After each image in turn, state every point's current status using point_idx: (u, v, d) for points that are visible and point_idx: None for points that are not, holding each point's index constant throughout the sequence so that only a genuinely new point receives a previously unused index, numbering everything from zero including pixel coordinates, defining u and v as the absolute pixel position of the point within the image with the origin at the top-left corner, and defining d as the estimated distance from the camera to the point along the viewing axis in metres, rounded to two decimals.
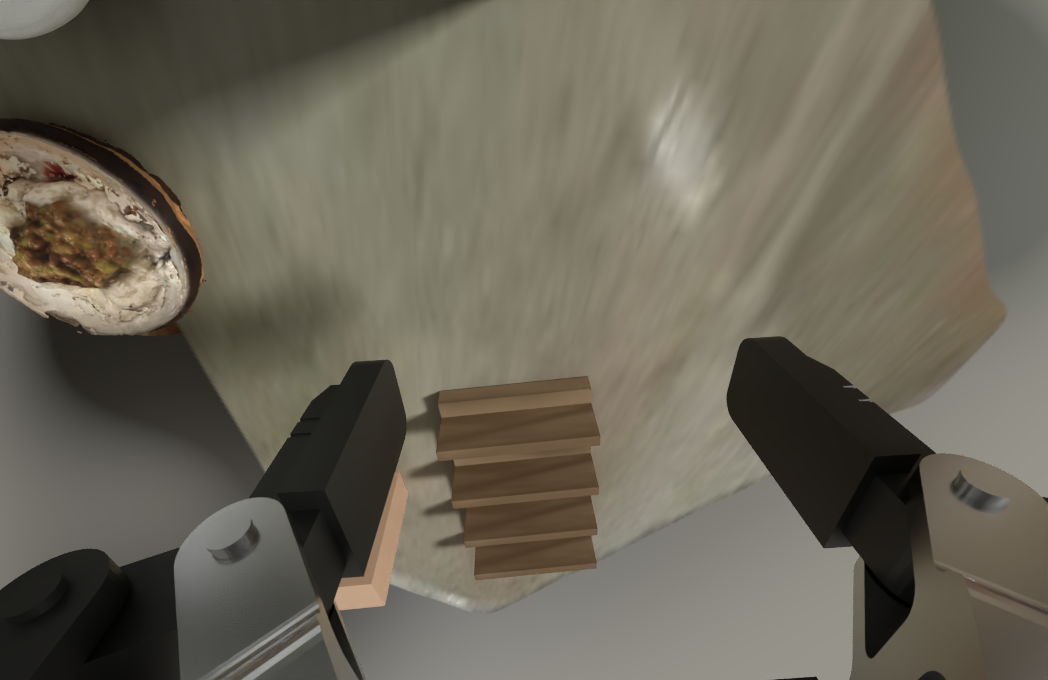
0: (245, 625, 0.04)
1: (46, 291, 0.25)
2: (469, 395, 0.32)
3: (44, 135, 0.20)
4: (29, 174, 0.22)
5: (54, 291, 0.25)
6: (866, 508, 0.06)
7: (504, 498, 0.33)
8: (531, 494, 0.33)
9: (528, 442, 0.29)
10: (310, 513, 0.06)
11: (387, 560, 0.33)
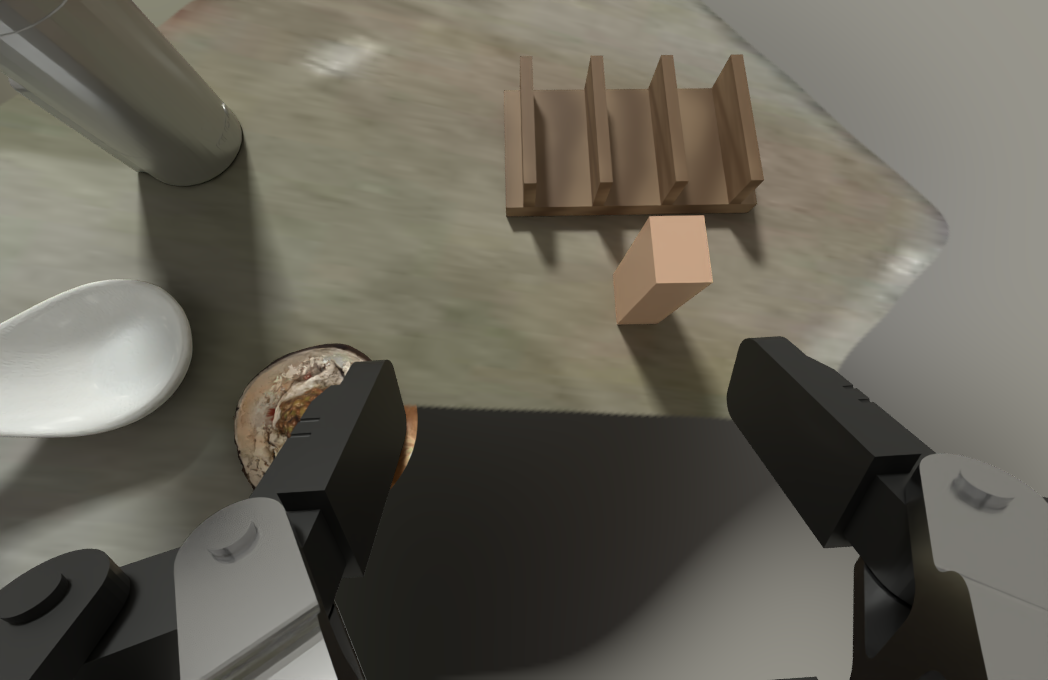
0: (246, 624, 0.04)
1: None
2: None
3: (246, 392, 0.31)
4: (270, 428, 0.31)
5: None
6: (867, 508, 0.06)
7: (600, 134, 0.33)
8: (596, 111, 0.33)
9: (522, 110, 0.33)
10: (310, 513, 0.06)
11: None
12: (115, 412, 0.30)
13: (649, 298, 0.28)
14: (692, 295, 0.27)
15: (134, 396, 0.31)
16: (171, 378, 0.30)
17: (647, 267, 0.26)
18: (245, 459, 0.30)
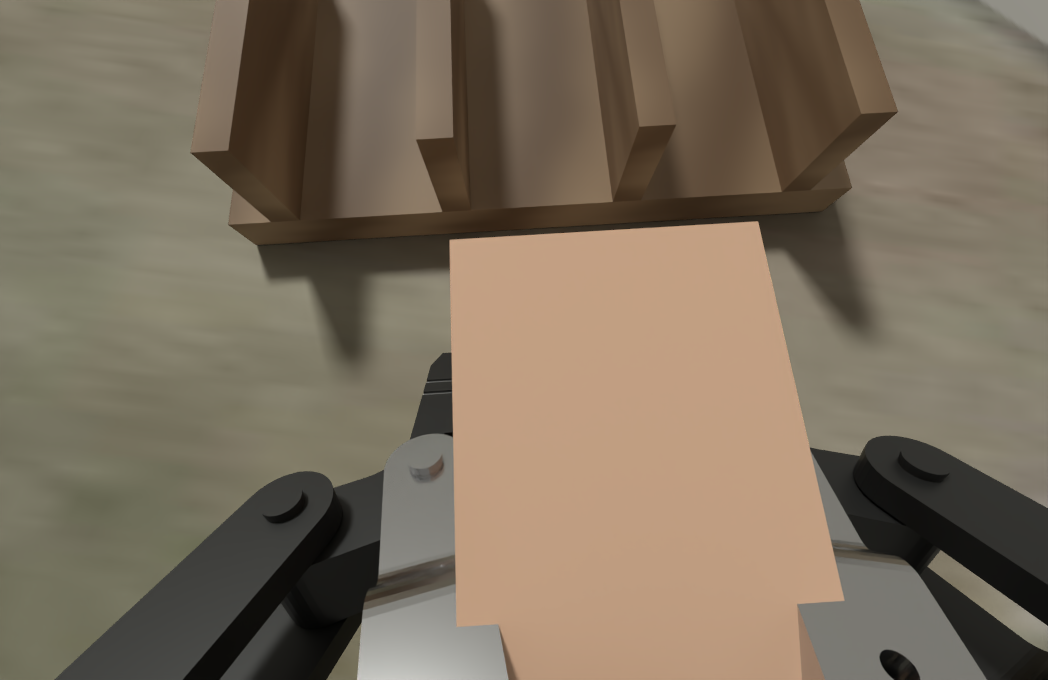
0: (427, 539, 0.05)
1: None
2: None
3: None
4: None
5: None
6: None
7: (425, 15, 0.12)
8: None
9: None
10: None
11: None
12: None
13: None
14: None
15: None
16: None
17: None
18: None
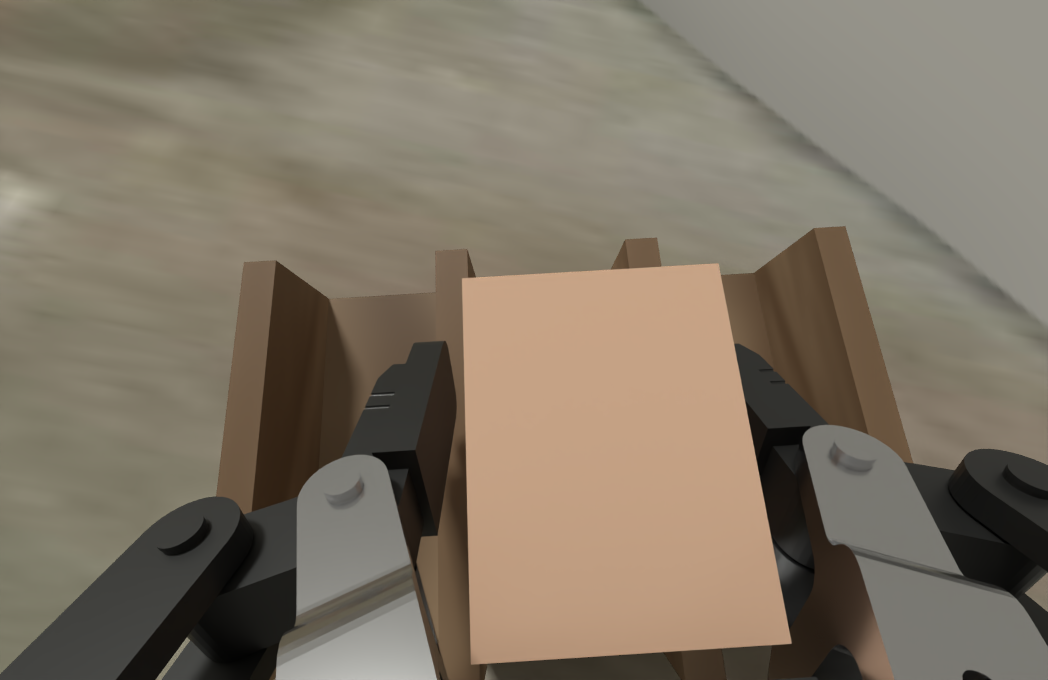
0: (349, 567, 0.05)
1: None
2: None
3: None
4: None
5: None
6: (767, 477, 0.07)
7: (447, 512, 0.11)
8: None
9: (227, 433, 0.11)
10: (400, 472, 0.06)
11: None
12: None
13: None
14: None
15: None
16: None
17: None
18: None
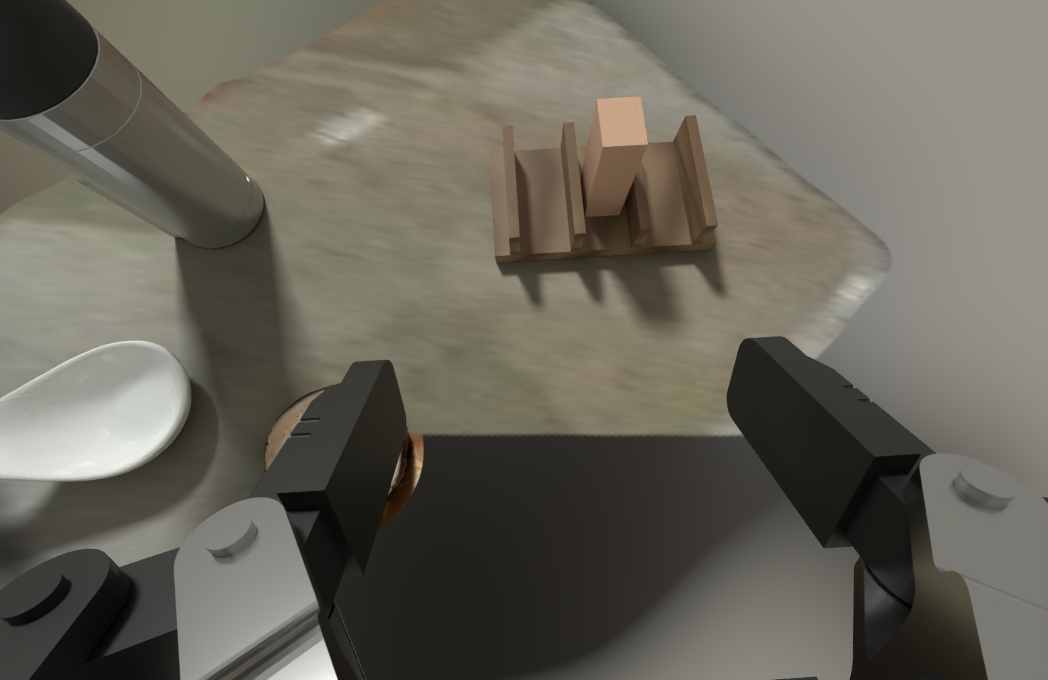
0: (245, 625, 0.04)
1: None
2: None
3: (274, 429, 0.36)
4: None
5: None
6: (867, 508, 0.06)
7: (573, 191, 0.38)
8: (570, 171, 0.38)
9: (505, 173, 0.38)
10: (310, 513, 0.06)
11: None
12: (122, 458, 0.35)
13: (603, 171, 0.34)
14: (636, 165, 0.34)
15: (139, 443, 0.36)
16: (171, 429, 0.34)
17: (598, 141, 0.33)
18: None
